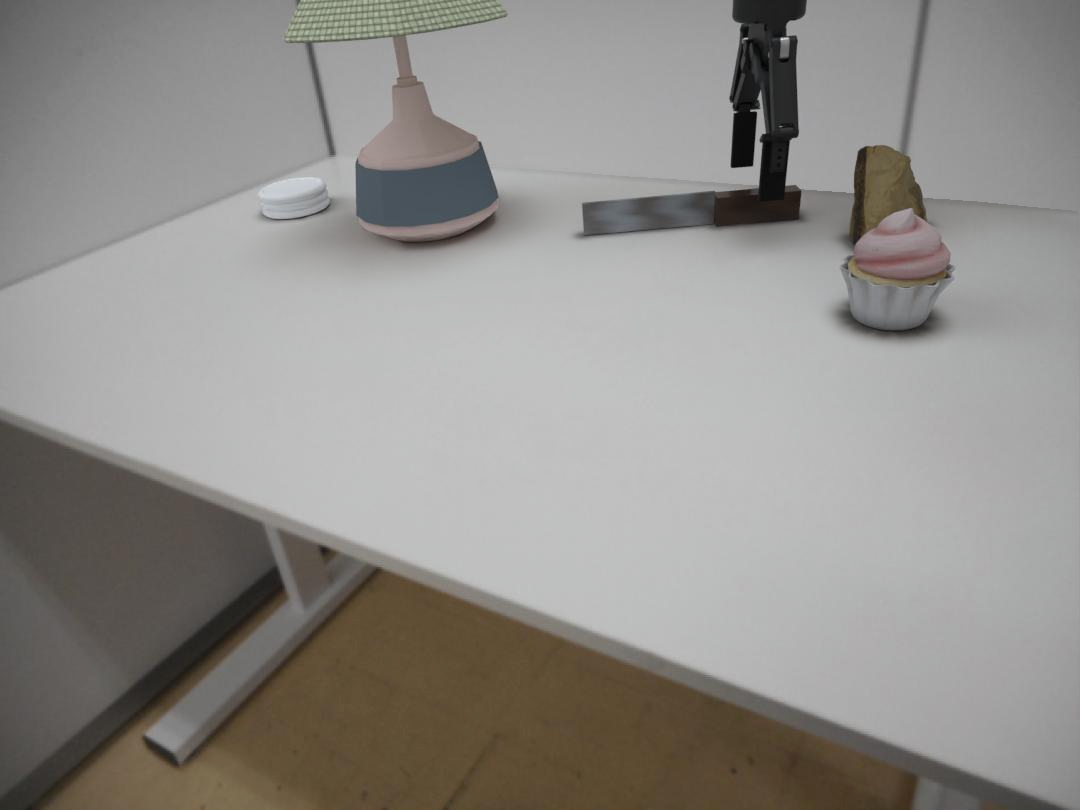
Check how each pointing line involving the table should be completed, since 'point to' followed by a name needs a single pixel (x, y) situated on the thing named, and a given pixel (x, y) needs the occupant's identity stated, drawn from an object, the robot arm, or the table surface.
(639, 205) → the knife
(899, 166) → the rock
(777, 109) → the robot arm
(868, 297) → the cupcake
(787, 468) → the table surface
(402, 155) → the desk lamp
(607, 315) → the table surface
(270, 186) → the white layered round disc
